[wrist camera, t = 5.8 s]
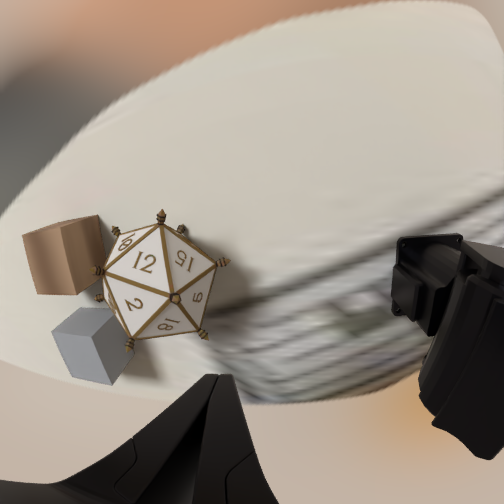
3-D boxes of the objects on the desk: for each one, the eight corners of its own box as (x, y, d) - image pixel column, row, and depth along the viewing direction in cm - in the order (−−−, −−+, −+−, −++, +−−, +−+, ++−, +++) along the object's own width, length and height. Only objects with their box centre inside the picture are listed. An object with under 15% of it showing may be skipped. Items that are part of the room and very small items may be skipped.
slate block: (119, 308, 23) (91, 336, 18) (134, 353, 24) (112, 385, 19) (80, 307, 23) (51, 331, 19) (96, 349, 25) (72, 376, 20)
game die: (194, 270, 25) (156, 375, 19) (117, 214, 21) (57, 322, 15) (267, 236, 19) (229, 384, 13) (168, 153, 15) (73, 306, 9)
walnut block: (98, 214, 20) (60, 227, 16) (109, 271, 22) (76, 295, 17) (59, 222, 21) (22, 235, 16) (70, 273, 22) (37, 294, 18)
